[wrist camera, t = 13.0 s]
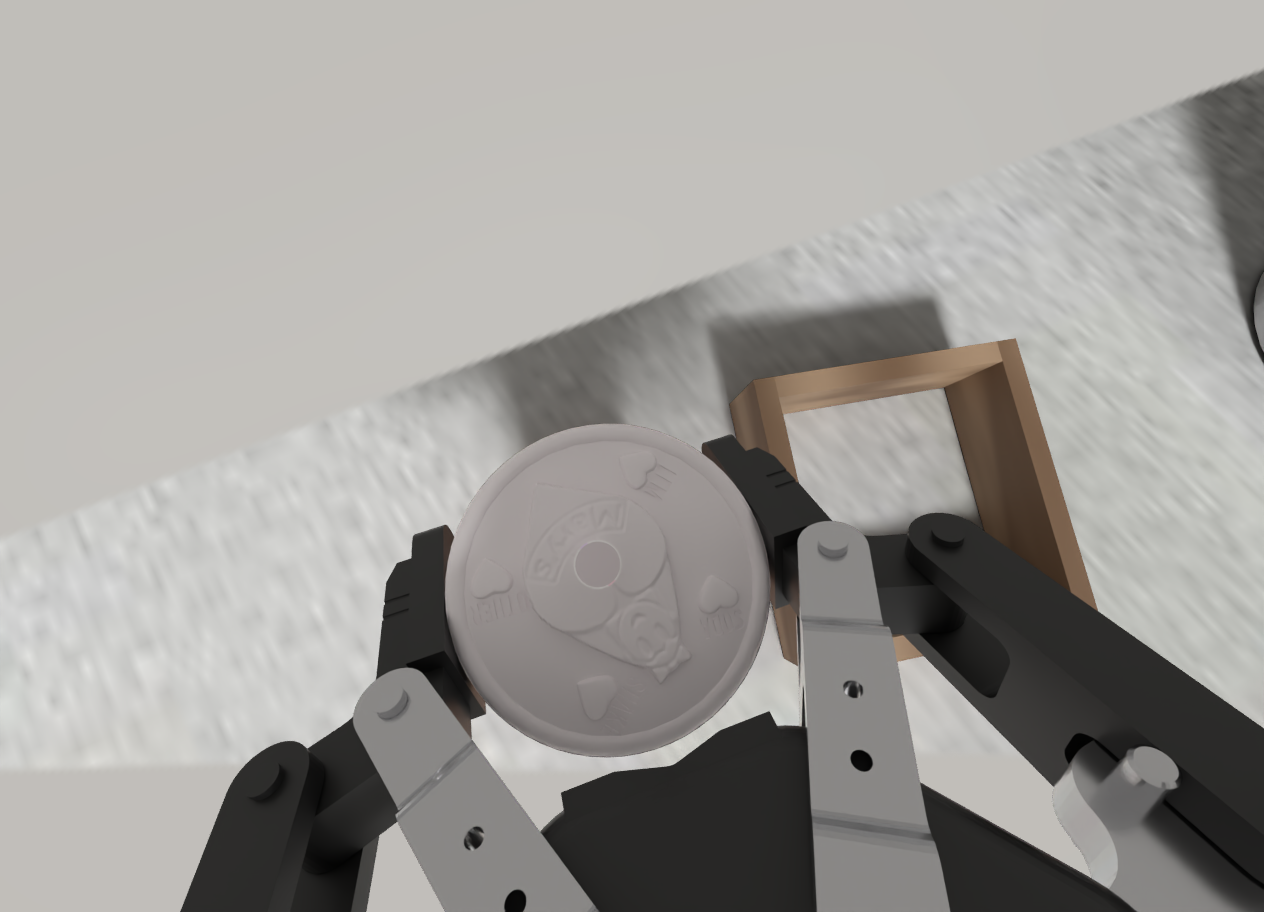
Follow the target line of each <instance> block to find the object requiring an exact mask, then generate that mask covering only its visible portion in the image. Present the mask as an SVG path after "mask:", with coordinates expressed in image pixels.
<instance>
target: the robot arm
mask: <svg viewBox="0 0 1264 912" xmlns="http://www.w3.org/2000/svg"><path fill="white" fill-rule="evenodd" d="M1254 318H1255V327H1256V331H1257V335H1258V338H1259V342H1260V345H1261V347H1262V350H1263V352H1264V272H1263V274H1262V276H1261V279H1260V281H1259V283H1258V286H1257V288H1256V294H1255V301H1254ZM702 454H704V455H705V456H706V457H707V458H709V459H710V460H711V461H713V462H714V463H715V464H716V465H717V466H718V467H719V468H720V469H721V470H722V471H723V472H724V473H725V474H726V475H727V476H728V477H729V478H730V480H731V481H732V482H733V483H734V484H735V486H736V487H737V488H738V490H739V491H740V493H741V494H742V495H743V497H744V498H745V500H746V502H747V504H748V505H749V507H750V509H751V511H752V513H753V515H754V517H755V519H756V521H757V523H758V526H759V529H760V532H761V534H762V537H763V541H764V544H765V548H766V552H767V558H768V564H769V571H770V601H771V603H772V604H773V606H774V608H775V609H778V608H780V607H783V606H786V605H788V604H790V606H791V607H792V609H793V610H794V612H795V613H796V627H797V654H798V681H799V726H786V725H785V726H777V725H776V723H775V721H774V719H773V717H772V716H771V714H770V712H766V713H764V714H761V715H758V716H756V717H753V718H751V719H748V720H746V721H743V722H740V723H738V724H735V725H733V726H730V727H728V728H725V729H723V730H720V731H719V732H717V733H716V734H715V735H713V736H712V737H711V738H709V739H708V740H707V741H705V742H704V743H703V744H701V745H700V746H699V747H697V748H696V749H695V750H693V751H692V752H691V753H689V754H688V755H687V756H685V757H684V758H683V759H681V760H680V761H679V762H677V763H676V764H674V765H671V766H667V767H658V768H648V769H638V770H628V771H618V772H613V773H610V774H608V775H605V776H602V777H600V778H597V779H595V780H592V781H590V782H587V783H585V784H582V785H580V786H577V787H574V788H572V789H569V790H567V791H564V792H562V793H561V795H562V802H563V808H564V810H563V811H562V812H561V813H559V814H558V815H557V816H556V817H555V818H553V819H552V820H551V821H550V822H549V823H548V824H547V825H546V826H545V827H544V828H543V829H542V830H541V832H540V831H539V830H538V828H537V827H536V826H535V824H534V823H533V822H532V820H531V819H530V817H529V816H528V815H527V813H526V812H525V811H524V809H523V808H522V807H521V805H520V804H519V803H518V801H517V800H516V799H515V797H514V796H513V795H512V793H511V792H510V790H509V789H508V788H507V786H506V785H505V784H504V782H503V781H502V780H501V778H500V777H499V776H498V774H497V773H496V771H495V770H494V769H493V767H492V766H491V765H490V763H489V762H488V761H487V759H486V758H485V757H484V755H483V754H482V753H481V751H480V750H479V748H478V747H477V746H476V744H475V743H474V742H473V741H472V735H471V719H474V718H476V717H479V716H482V715H485V714H486V706H485V701H484V699H483V698H482V697H481V696H480V694H479V693H478V692H477V691H476V689H475V688H474V686H473V685H472V683H471V681H470V680H469V678H468V677H467V675H466V673H465V671H464V669H463V667H462V665H461V663H460V661H459V659H458V656H457V653H456V651H455V648H454V644H453V641H452V637H451V634H450V630H449V626H448V621H447V615H446V603H445V579H446V571H447V563H448V558H449V554H450V550H451V545H452V542H453V539H454V536H453V534H452V532H451V530H450V529H449V527H448V526H447V525H443V526H440V527H437V528H433V529H430V530H427V531H424V532H421V533H418V534H415V535H414V536H413V541H412V558H411V559H408V560H405V561H402V562H399V563H397V564H396V566H395V568H394V570H393V572H392V573H391V575H390V577H389V579H388V581H387V582H386V591H385V600H384V602H385V605H384V610H383V619H384V620H383V621H382V629H381V638H380V648H379V657H378V667H377V677H376V680H375V681H374V682H373V683H372V684H371V685H370V686H369V687H368V688H367V689H366V690H365V691H364V693H363V694H362V695H361V697H360V699H359V701H358V702H357V705H356V707H355V710H354V714H353V717H352V718H351V719H350V720H349V721H348V722H346V723H345V724H344V725H342V726H341V727H340V728H338V729H336V730H335V731H333V732H332V733H330V734H329V735H327V736H326V737H324V738H323V739H321V740H320V741H318V742H317V743H315V744H314V745H312V746H311V747H309V748H308V749H307V748H306V747H305V746H303V745H302V744H300V743H299V742H295V741H285V742H280V743H277V744H274V745H272V746H270V747H268V748H266V749H265V750H263V751H262V752H260V753H259V754H257V755H256V756H255V757H253V758H252V759H251V760H250V761H249V762H248V763H247V764H246V765H245V766H244V767H243V768H242V769H241V770H240V772H239V773H238V774H237V776H236V777H235V778H234V780H233V782H232V783H231V785H230V787H229V789H228V791H227V793H226V796H225V799H224V801H223V804H222V806H221V809H220V811H219V814H218V817H217V819H216V822H215V825H214V827H213V829H212V832H211V835H210V837H209V840H208V842H207V845H206V847H205V850H204V852H203V855H202V858H201V860H200V863H199V865H198V868H197V870H196V873H195V875H194V878H193V881H192V883H191V886H190V888H189V891H188V894H187V896H186V899H185V901H184V904H183V907H182V909H181V911H180V912H366V910H367V904H368V898H369V892H370V886H371V881H372V875H373V869H374V863H375V857H376V852H377V845H378V840H379V835H380V834H382V833H383V832H384V831H386V830H387V829H388V828H389V827H391V826H392V825H393V824H395V823H396V822H398V824H399V826H400V828H401V830H402V832H403V834H404V835H405V837H406V839H407V841H408V843H409V845H410V847H411V848H412V851H413V852H414V854H415V856H416V858H417V860H418V862H419V864H420V866H421V867H422V869H423V871H424V873H425V875H426V877H427V879H428V881H429V882H430V884H431V886H432V888H433V890H434V892H435V894H436V896H437V897H438V899H439V901H440V903H441V905H442V907H443V909H444V911H445V912H1264V728H1262V727H1261V726H1260V725H1258V724H1257V723H1255V722H1254V721H1252V720H1251V719H1250V718H1248V717H1247V716H1245V715H1244V714H1243V713H1241V712H1240V711H1238V710H1237V709H1235V708H1234V707H1233V706H1231V705H1230V704H1228V703H1227V702H1226V701H1224V700H1223V699H1221V698H1220V697H1219V696H1217V695H1216V694H1214V693H1213V692H1211V691H1210V690H1209V689H1207V688H1206V687H1204V686H1203V685H1202V684H1200V683H1199V682H1197V681H1196V680H1194V679H1193V678H1192V677H1190V676H1189V675H1187V674H1186V673H1185V672H1183V671H1182V670H1180V669H1179V668H1177V667H1176V666H1175V665H1173V664H1172V663H1170V662H1169V661H1168V660H1166V659H1165V658H1163V657H1162V656H1160V655H1159V654H1158V653H1156V652H1155V651H1153V650H1152V649H1151V648H1149V647H1148V646H1146V645H1145V644H1143V643H1142V642H1141V641H1139V640H1138V639H1136V638H1135V637H1134V636H1132V635H1131V634H1129V633H1128V632H1126V631H1125V630H1124V629H1122V628H1121V627H1119V626H1118V625H1117V624H1115V623H1114V622H1112V621H1111V620H1109V619H1108V618H1107V617H1105V616H1104V615H1102V614H1101V613H1100V612H1098V611H1097V610H1095V609H1094V608H1092V607H1091V606H1090V605H1088V604H1087V603H1085V602H1084V601H1083V600H1081V599H1080V598H1078V597H1077V596H1076V595H1074V594H1073V593H1071V592H1070V591H1068V590H1067V589H1066V588H1064V587H1063V586H1061V585H1060V584H1059V583H1057V582H1056V581H1054V580H1053V579H1051V578H1050V577H1049V576H1047V575H1046V574H1044V573H1043V572H1042V571H1040V570H1039V569H1037V568H1036V567H1034V566H1033V565H1032V564H1030V563H1029V562H1027V561H1026V560H1025V559H1023V558H1022V557H1020V556H1019V555H1017V554H1016V553H1015V552H1013V551H1012V550H1010V549H1009V548H1008V547H1006V546H1005V545H1003V544H1002V543H1000V542H999V541H998V540H996V539H995V538H993V537H992V536H991V535H989V534H988V533H986V532H985V531H983V530H982V529H981V528H979V527H978V526H976V525H975V524H973V523H972V522H970V521H969V520H966V519H964V518H962V517H959V516H956V515H952V514H946V513H930V514H926V515H923V516H920V517H918V518H917V519H915V520H914V521H913V522H912V523H911V525H910V527H909V531H908V534H901V535H886V536H864V535H863V534H862V533H861V532H860V531H859V530H857V529H856V528H854V527H852V526H850V525H848V524H845V523H841V522H836V521H832V520H831V519H830V518H829V517H828V516H827V515H826V513H825V512H824V511H823V510H822V509H821V508H820V507H819V506H818V504H817V503H816V502H815V501H814V500H813V499H812V498H811V496H810V495H809V494H808V493H807V492H806V491H805V490H804V489H803V487H802V486H801V485H800V484H799V483H798V482H796V480H795V478H794V477H793V476H792V475H791V474H790V473H789V472H787V471H786V468H785V467H784V466H783V465H782V464H781V463H780V461H779V460H778V459H777V458H776V457H775V456H774V455H772V454H770V453H768V452H766V451H764V450H762V449H760V448H758V447H756V448H753V449H750V450H747V451H745V449H744V448H743V447H742V446H741V444H740V443H739V442H738V441H737V440H736V438H735V437H734V436H733V435H727V436H724V437H721V438H718V439H714V440H711V441H708V442H705V443H703V444H702ZM896 634H902V635H903V636H904V637H905V638H906V639H907V640H908V641H909V642H910V643H911V644H912V645H913V646H914V647H915V648H916V649H917V650H918V651H919V652H920V653H921V654H922V655H923V656H924V657H925V658H926V659H927V660H928V661H929V662H930V663H931V664H932V665H933V666H934V667H935V668H936V669H937V670H938V671H939V672H940V673H941V674H942V675H943V676H944V677H945V678H946V679H947V680H948V681H949V682H950V683H951V684H952V685H953V686H954V687H955V688H956V689H957V690H958V691H959V692H960V693H961V694H962V695H963V696H964V697H965V698H966V699H967V700H968V701H969V702H970V703H971V704H972V705H973V706H974V707H975V708H976V709H977V710H978V711H979V712H980V713H981V714H982V715H983V716H984V717H985V718H986V719H987V720H988V721H989V722H990V723H991V724H992V725H993V726H994V727H995V728H996V729H997V730H998V731H999V732H1000V733H1001V734H1002V735H1003V736H1004V737H1005V738H1006V739H1007V740H1008V741H1009V742H1010V743H1011V744H1012V745H1013V746H1014V747H1015V748H1016V749H1017V750H1018V751H1019V752H1020V753H1021V754H1022V755H1023V756H1024V757H1025V758H1026V759H1027V760H1028V761H1029V762H1030V763H1031V764H1032V765H1033V767H1035V769H1036V770H1037V771H1038V772H1039V773H1040V774H1042V776H1044V777H1045V778H1046V780H1048V782H1049V783H1050V784H1051V785H1052V786H1054V789H1053V795H1052V799H1053V807H1054V810H1055V813H1056V815H1057V817H1058V820H1059V822H1060V824H1061V825H1062V827H1063V828H1064V830H1065V831H1066V833H1067V834H1068V835H1069V836H1070V838H1071V840H1072V841H1073V843H1074V844H1075V845H1076V847H1077V848H1078V849H1079V850H1080V852H1081V853H1082V855H1083V856H1084V859H1085V861H1086V863H1087V865H1088V868H1089V871H1090V874H1091V878H1090V877H1088V876H1086V875H1085V874H1083V873H1081V872H1079V871H1077V870H1076V869H1074V868H1072V867H1070V866H1068V865H1067V864H1065V863H1063V862H1061V861H1059V860H1058V859H1056V858H1054V857H1052V856H1051V855H1049V854H1047V853H1045V852H1043V851H1042V850H1040V849H1038V848H1036V847H1034V846H1033V845H1031V844H1029V843H1027V842H1026V841H1024V840H1022V839H1020V838H1018V837H1017V836H1015V835H1013V834H1011V833H1009V832H1008V831H1006V830H1004V829H1002V828H1000V827H999V826H997V825H995V824H993V823H992V822H990V821H988V820H986V819H985V818H983V817H981V816H979V815H977V814H975V813H974V812H972V811H970V810H969V809H966V808H965V807H963V806H961V805H960V804H958V803H956V802H954V801H952V800H951V799H949V798H947V797H945V796H944V795H942V794H940V793H938V792H936V791H934V790H933V789H931V788H929V787H927V786H926V785H924V784H922V783H920V780H919V775H918V769H917V764H916V759H915V753H914V748H913V743H912V737H911V732H910V727H909V722H908V716H907V711H906V706H905V700H904V695H903V690H902V684H901V679H900V674H899V668H898V663H897V658H896V653H895V647H894V642H893V637H892V635H896Z"/></svg>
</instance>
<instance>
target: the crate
mask: <svg viewBox="0 0 1264 912" xmlns="http://www.w3.org/2000/svg"><path fill="white" fill-rule="evenodd" d="M938 388H945V391H946V395H947V399H948V402H949V406H950V409H951V413H952V417H953V420H954V424H955V427H956V431H957V435H958V438H959V442H960V445H961V449H962V452H963V456H964V460H965V463H966V467H967V470H968V474H969V478H970V481H971V485H972V488H973V492H974V496H975V499H976V503H977V506H978V510H979V514H980V517H981V521H982V524H983V528H984V531H985V532H986V533H988V534H989V535H991V536H992V537H993V538H995V539H996V540H998V541H999V542H1000V543H1002V544H1003V545H1005V546H1006V547H1008V548H1009V549H1010V550H1012V551H1013V552H1015V553H1016V554H1017V555H1019V556H1020V557H1022V558H1023V559H1025V560H1026V561H1027V562H1029V563H1030V564H1032V565H1033V566H1034V567H1036V568H1037V569H1039V570H1040V571H1042V572H1043V573H1044V574H1046V575H1047V576H1049V577H1050V578H1051V579H1053V580H1054V581H1056V582H1057V583H1059V584H1060V585H1061V586H1063V587H1064V588H1066V589H1067V590H1068V591H1070V592H1071V593H1073V594H1074V595H1076V596H1077V597H1078V598H1080V599H1081V600H1083V601H1084V602H1085V603H1087V604H1088V605H1090V606H1091V607H1092V608H1094V609H1095V610H1097V611H1098V609H1097V606H1096V603H1095V599H1094V596H1093V593H1092V589H1091V586H1090V583H1089V580H1088V576H1087V573H1086V570H1085V566H1084V563H1083V560H1082V556H1081V553H1080V550H1079V546H1078V543H1077V540H1076V536H1075V533H1074V530H1073V527H1072V523H1071V520H1070V517H1069V513H1068V510H1067V507H1066V503H1065V500H1064V497H1063V493H1062V490H1061V487H1060V484H1059V480H1058V477H1057V474H1056V470H1055V467H1054V464H1053V460H1052V457H1051V454H1050V450H1049V447H1048V444H1047V441H1046V437H1045V434H1044V431H1043V427H1042V424H1041V421H1040V417H1039V414H1038V411H1037V407H1036V404H1035V401H1034V398H1033V394H1032V391H1031V388H1030V384H1029V381H1028V378H1027V374H1026V371H1025V368H1024V364H1023V361H1022V358H1021V355H1020V351H1019V348H1018V345H1017V341H1016V339H1009V340H1003V341H997V342H990V343H984V344H978V345H971V346H965V347H959V348H952V349H946V350H940V351H933V352H927V353H921V354H914V355H908V356H902V357H895V358H889V359H883V360H876V361H870V362H864V363H857V364H851V365H845V366H838V367H832V368H826V369H819V370H813V371H807V372H800V373H794V374H788V375H781V376H775V377H769V378H762V379H756V380H753V381H752V382H751V383H750V384H749V385H748V386H747V387H746V388H745V389H744V390H743V391H742V392H741V393H740V394H739V395H738V396H737V397H736V398H735V399H734V400H733V401H732V402H731V403H730V404H729V406H730V410H731V415H732V420H733V424H734V429H735V434H736V438H737V441H738V442H739V443H740V444H741V446H742V447H743V448H744V449H745V451H747V450H750V449H753V448H756V447H758V448H760V449H762V450H764V451H766V452H768V453H770V454H772V455H774V456H775V457H776V458H777V459H778V460H779V461H780V463H781V464H782V465H783V466H784V467H785V468H786V471H787V472H789V473H790V474H791V475H792V476H793V477H794V478H795V480H796V482H798V478H797V474H796V469H795V465H794V461H793V456H792V452H791V448H790V443H789V439H788V435H787V430H786V426H785V422H784V417H783V414H787V413H793V412H799V411H805V410H811V409H817V408H823V407H829V406H835V405H841V404H847V403H853V402H859V401H865V400H871V399H877V398H883V397H889V396H895V395H902V394H908V393H914V392H920V391H926V390H932V389H938ZM798 483H799V482H798ZM772 605H773V604H772ZM773 610H774V614H775V619H776V624H777V628H778V633H779V637H780V642H781V647H782V651H783V656H784V659H786V660H788V661H790V662H791V663H793V664H795V665H797V666H798V654H797V627H796V613H795V612H794V610H793V609H792V607H791V606H790V604H788V605H786V606H783V607H780V608H778V609H775V608H774V606H773ZM892 637H893V642H894V647H895V653H896V658H897V662H898V661H903V660H907V659H912V658H916V657H921V656H923V655H922V654H921V653H920V652H919V651H918V650H917V649H916V648H915V647H914V646H913V645H912V644H911V643H910V642H909V641H908V640H907V639H906V638H905V637H904V636H903V635H902V634H896V635H892Z"/></svg>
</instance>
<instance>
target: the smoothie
mask: <svg viewBox="0 0 1264 912" xmlns="http://www.w3.org/2000/svg"><path fill="white" fill-rule="evenodd" d="M445 603H446V615H447V621H448V626H449V630H450V634H451V637H452V641H453V644H454V648H455V651H456V653H457V656H458V659H459V661H460V663H461V665H462V667H463V669H464V671H465V673H466V675H467V677H468V678H469V680H470V681H471V683H472V685H473V686H474V688H475V689H476V691H477V692H478V693H479V694H480V696H481V697H482V698H483V699H484V701H485V702H486V703H487V704H488V705H489V706H490V707H491V708H492V709H493V710H494V711H495V712H496V713H497V714H498V715H499V716H500V717H501V718H502V719H503V720H505V721H506V722H507V723H508V724H509V725H511V726H512V727H513V728H515V729H516V730H518V731H520V732H521V733H523V734H524V735H526V736H527V737H529V738H531V739H533V740H535V741H537V742H539V743H541V744H544V745H546V746H549V747H551V748H554V749H557V750H560V751H564V752H568V753H571V754H577V755H583V756H590V757H621V756H628V755H635V754H640V753H644V752H648V751H651V750H655V749H658V748H660V747H663V746H666V745H668V744H671V743H673V742H675V741H677V740H679V739H681V738H683V737H685V736H686V735H688V734H690V733H691V732H693V731H694V730H696V729H697V728H699V727H700V726H702V725H703V724H704V723H705V722H707V721H708V720H709V719H710V718H712V717H713V716H714V715H715V714H716V713H717V712H718V711H719V710H720V709H721V708H722V707H723V706H724V705H725V704H726V703H727V702H728V701H729V699H730V698H731V697H732V696H733V695H734V693H735V692H736V691H737V689H738V688H739V686H740V685H741V684H742V682H743V681H744V679H745V677H746V676H747V674H748V672H749V670H750V668H751V667H752V665H753V663H754V660H755V658H756V656H757V653H758V651H759V649H760V646H761V643H762V639H763V636H764V633H765V629H766V624H767V620H768V613H769V605H770V571H769V564H768V558H767V552H766V548H765V544H764V541H763V537H762V534H761V532H760V529H759V526H758V523H757V521H756V519H755V517H754V515H753V513H752V511H751V509H750V507H749V505H748V504H747V502H746V500H745V498H744V497H743V495H742V494H741V493H740V491H739V490H738V488H737V487H736V486H735V484H734V483H733V482H732V481H731V480H730V478H729V477H728V476H727V475H726V474H725V473H724V472H723V471H722V470H721V469H720V468H719V467H718V466H717V465H716V464H715V463H714V462H713V461H711V460H710V459H709V458H707V457H706V456H705V455H704V454H702V453H701V452H699V451H698V450H696V449H695V448H693V447H692V446H690V445H688V444H687V443H685V442H683V441H681V440H679V439H677V438H675V437H672V436H670V435H667V434H665V433H662V432H659V431H656V430H652V429H649V428H645V427H639V426H634V425H626V424H593V425H585V426H580V427H575V428H570V429H567V430H563V431H560V432H557V433H554V434H552V435H549V436H547V437H544V438H542V439H540V440H538V441H536V442H534V443H532V444H531V445H529V446H527V447H525V448H524V449H522V450H521V451H519V452H518V453H516V454H515V455H514V456H512V457H511V458H510V459H508V460H507V461H506V462H505V463H503V464H502V465H501V466H500V467H499V468H498V469H497V470H496V471H495V472H494V473H493V474H492V475H491V476H490V477H489V478H488V480H487V481H486V482H485V483H484V484H483V485H482V487H481V488H480V489H479V491H478V492H477V494H476V495H475V496H474V498H473V499H472V501H471V502H470V504H469V506H468V508H467V509H466V511H465V513H464V515H463V517H462V519H461V521H460V524H459V526H458V528H457V531H456V534H455V536H454V539H453V542H452V545H451V550H450V554H449V558H448V563H447V571H446V579H445Z"/></svg>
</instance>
